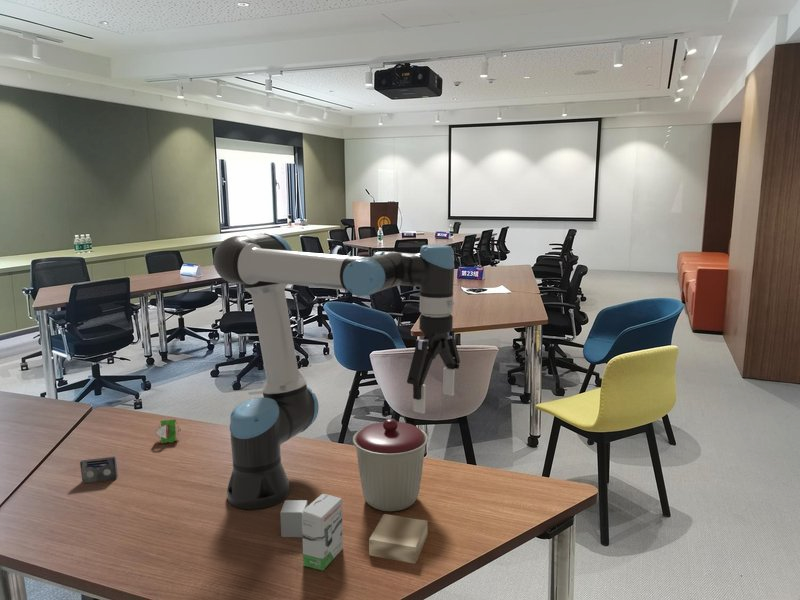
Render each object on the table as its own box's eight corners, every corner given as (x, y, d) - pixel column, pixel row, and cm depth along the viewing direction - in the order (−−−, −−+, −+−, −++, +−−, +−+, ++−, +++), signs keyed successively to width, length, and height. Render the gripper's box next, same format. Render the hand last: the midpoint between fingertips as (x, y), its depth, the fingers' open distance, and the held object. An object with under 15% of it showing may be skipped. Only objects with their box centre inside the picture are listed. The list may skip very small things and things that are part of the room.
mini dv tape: (117, 476, 153) (115, 455, 151) (116, 479, 151) (114, 458, 150) (84, 480, 150) (81, 459, 149) (82, 483, 149) (80, 462, 148)
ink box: (323, 572, 113) (321, 517, 111) (301, 565, 115) (299, 512, 113) (344, 548, 121) (342, 496, 119) (324, 542, 123) (322, 492, 121)
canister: (338, 503, 139) (336, 421, 135) (387, 475, 152) (386, 400, 148) (395, 530, 127) (394, 441, 123) (442, 497, 141) (443, 417, 137)
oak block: (369, 556, 118) (368, 539, 118) (384, 530, 128) (384, 513, 127) (415, 565, 116) (415, 547, 115) (427, 537, 125) (427, 520, 124)
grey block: (281, 537, 125) (280, 512, 124) (286, 524, 130) (285, 500, 129) (304, 537, 125) (303, 512, 124) (308, 524, 130) (307, 500, 129)
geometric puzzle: (159, 428, 178) (155, 415, 173) (182, 426, 180) (179, 413, 174) (157, 449, 174) (152, 436, 168) (181, 447, 175) (177, 433, 170)
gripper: (421, 326, 116) (420, 424, 120) (475, 306, 137) (472, 390, 141) (391, 321, 120) (390, 416, 124) (448, 303, 141) (446, 385, 145)
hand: (434, 403), depth 132 cm, fingers open, 13 cm apart
